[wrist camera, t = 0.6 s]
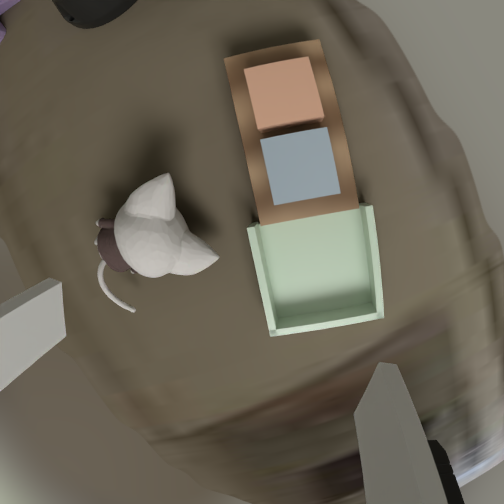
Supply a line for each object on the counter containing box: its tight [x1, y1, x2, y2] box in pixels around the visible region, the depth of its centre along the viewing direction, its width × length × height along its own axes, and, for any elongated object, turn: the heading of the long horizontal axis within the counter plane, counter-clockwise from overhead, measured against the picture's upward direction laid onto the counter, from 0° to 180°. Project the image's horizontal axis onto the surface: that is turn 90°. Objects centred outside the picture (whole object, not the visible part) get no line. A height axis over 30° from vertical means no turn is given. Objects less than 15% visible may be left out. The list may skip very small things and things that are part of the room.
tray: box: [247, 202, 384, 337], centre depth 34 cm, size 12×13×4 cm
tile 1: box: [260, 127, 341, 205], centre depth 28 cm, size 6×6×3 cm
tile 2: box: [244, 57, 324, 133], centre depth 26 cm, size 6×6×3 cm
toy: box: [94, 173, 219, 312], centre depth 34 cm, size 13×9×15 cm
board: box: [224, 39, 359, 226], centre depth 30 cm, size 18×10×4 cm, turn 12°
